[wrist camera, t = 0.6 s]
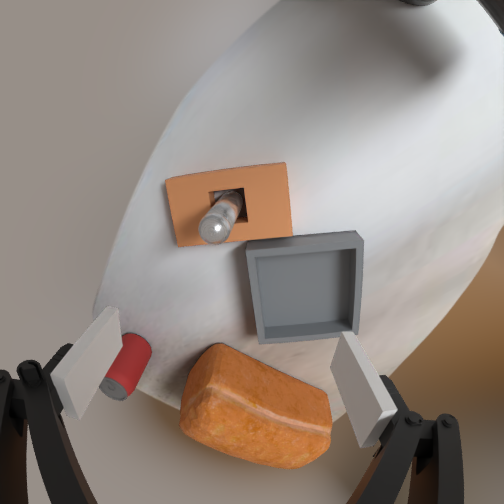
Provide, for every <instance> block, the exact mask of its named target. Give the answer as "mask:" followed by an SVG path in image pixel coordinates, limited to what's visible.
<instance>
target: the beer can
mask: <svg viewBox="0 0 504 504" xmlns="http://www.w3.org/2000/svg"><path fill="white" fill-rule="evenodd" d="M122 344H123V346H122V348H121V350H120V351H119V353H118V355H117V356H116V358H115V360H114V361H113V363H112V365H111V366H110V368H109V370H108V371H107V373H106V375H105V377H104V378H103V380H102V382H101V383H100V385H99V388H100V390H101V391H102V392H103V393H104V394H105V395H107V396H108V397H110V398H112V399H114V400H118V401H123V400H125V399H127V397H128V396H129V395H130V394H131V393H132V392H133V391H134V390H135V388H136V386H137V384H138V382H139V379H140V377H141V375H142V373H143V371H144V369H145V367H146V365H147V363H148V361H149V359H150V357H151V354H152V351H151V347H150V345H149V344H148V342H147V341H146V340H145V339H144V338H142V337H141V336H139V335H136V334H131V333H130V334H125V335H123V336H122Z"/></svg>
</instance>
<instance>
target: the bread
mask: <svg viewBox="0 0 504 504" xmlns="http://www.w3.org/2000/svg"><path fill="white" fill-rule="evenodd" d="M180 415H181V417H180V423H179V426H180V428H181V429H182V431H183V432H184V433H185V434H186V435H187V436H189V437H191V438H193V439H194V440H196V441H198V442H200V443H202V444H204V445H207V446H209V447H211V448H214V449H216V450H218V451H221V452H223V453H226V454H228V455H231V456H234V457H238V458H241V459H244V460H248V461H251V462H254V463H257V464H262V465H268V466H272V467H276V468H283V469H296V468H300V467H302V466H304V465H306V464H308V463H310V462H312V461H313V460H315V459H316V458H318V457H319V456H320V455H321V454H323V453H324V452H325V451H326V450H327V449H328V448H329V445H330V442H331V437H330V432H331V429H332V416H331V411H330V405H329V401H328V396H327V394H326V393H325V392H324V391H322V390H320V389H318V388H315V387H313V386H311V385H308V384H306V383H304V382H302V381H300V380H298V379H295V378H293V377H291V376H289V375H286V374H284V373H282V372H280V371H278V370H276V369H274V368H272V367H269V366H267V365H265V364H263V363H261V362H259V361H257V360H255V359H253V358H251V357H249V356H247V355H245V354H243V353H241V352H239V351H237V350H235V349H233V348H231V347H229V346H227V345H224V344H222V343H220V344H215V345H213V346H211V347H210V348H209V349H208V350H206V351H205V352H204V353H203V354H202V355H201V357H200V358H199V359H198V361H197V362H196V364H195V365H194V366H193V368H192V369H191V371H190V373H189V375H188V378H187V382H186V385H185V389H184V392H183V396H182V400H181V409H180Z"/></svg>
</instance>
